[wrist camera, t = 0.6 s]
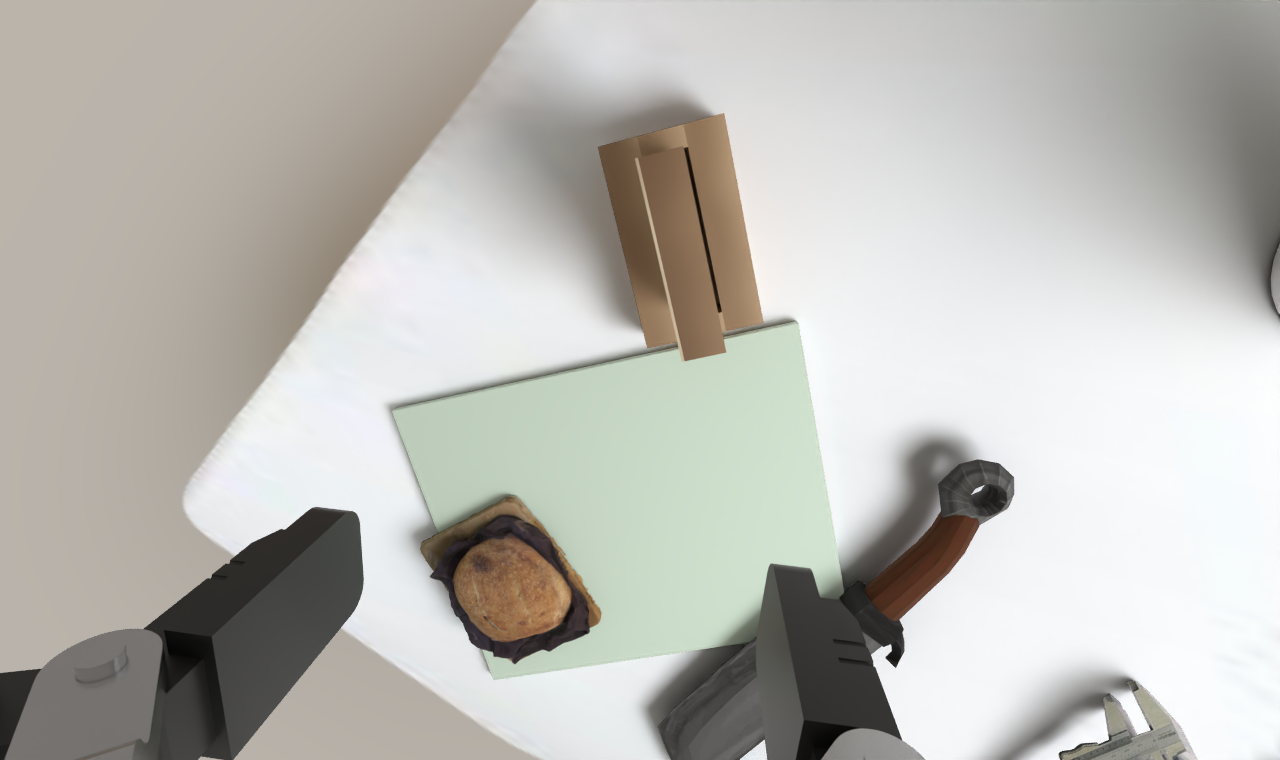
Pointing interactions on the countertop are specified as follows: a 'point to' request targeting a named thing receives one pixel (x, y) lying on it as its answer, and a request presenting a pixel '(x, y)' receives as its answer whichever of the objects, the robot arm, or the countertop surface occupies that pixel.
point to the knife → (729, 699)
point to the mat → (646, 487)
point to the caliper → (1126, 755)
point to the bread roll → (510, 582)
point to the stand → (716, 219)
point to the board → (681, 253)
